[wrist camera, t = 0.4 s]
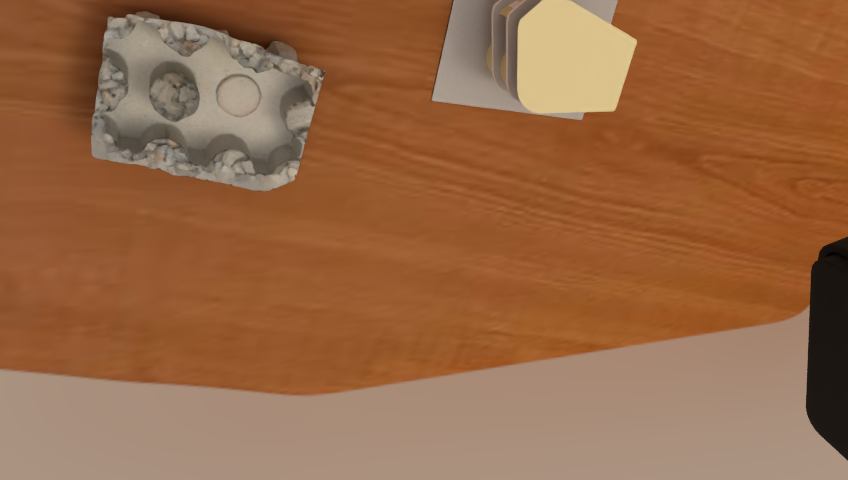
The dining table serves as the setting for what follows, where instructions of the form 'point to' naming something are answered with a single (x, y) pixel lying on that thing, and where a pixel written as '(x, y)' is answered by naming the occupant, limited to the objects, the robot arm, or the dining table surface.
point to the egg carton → (202, 103)
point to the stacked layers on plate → (534, 56)
